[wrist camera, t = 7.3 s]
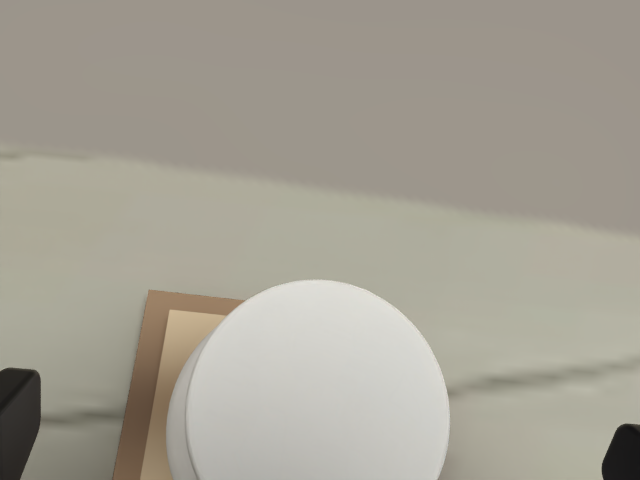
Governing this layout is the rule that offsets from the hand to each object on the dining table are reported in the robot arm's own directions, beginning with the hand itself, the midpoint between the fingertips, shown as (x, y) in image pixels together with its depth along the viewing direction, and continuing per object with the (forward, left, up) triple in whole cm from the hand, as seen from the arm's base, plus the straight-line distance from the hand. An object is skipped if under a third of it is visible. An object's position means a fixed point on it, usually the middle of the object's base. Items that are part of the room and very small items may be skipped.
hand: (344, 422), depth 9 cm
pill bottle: (0, 0, -11) cm, 11 cm away
